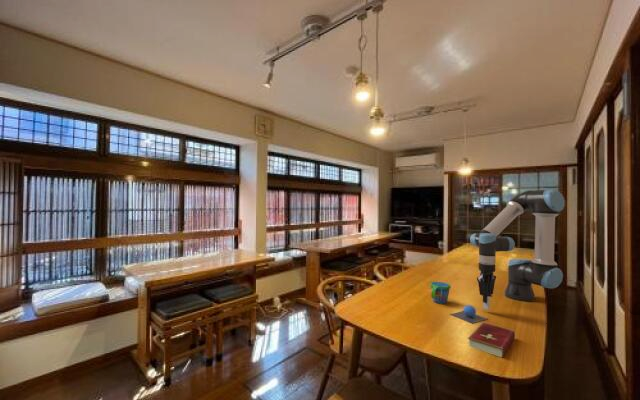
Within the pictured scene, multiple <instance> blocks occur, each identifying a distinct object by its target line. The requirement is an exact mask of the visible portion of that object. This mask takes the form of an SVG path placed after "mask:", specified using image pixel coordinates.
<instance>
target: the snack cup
mask: <svg viewBox="0 0 640 400" xmlns="http://www.w3.org/2000/svg"><path fill="white" fill-rule="evenodd" d="M429 286H430V289H431V295H430V296H431V299H432V301H433V302H434V303H436V304H441V305H442V304H447V303H448V300H449V299H448V298H449V294H450V289H451V284H449V283H447V282H442V281H431V282H430V283H429Z"/></svg>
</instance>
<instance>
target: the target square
mask: <svg viewBox="0 0 640 400" xmlns="http://www.w3.org/2000/svg"><path fill="white" fill-rule="evenodd" d="M449 315H450V316H452V317H455V318H458V319H460V320H462V321H464V322H467V323H468V324H469V323H470V324H472V325H473V324H476V323H477V324H478V323H480V322H481V323H482V322H484V321H487V320H489V318H487V317H484V316H481V315H479V314H477V313H476V314H475V316H473V317H468V316H466V315H465V313H464V310H462V311H457V312H454V313H451V314H449Z"/></svg>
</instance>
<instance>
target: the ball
mask: <svg viewBox="0 0 640 400" xmlns="http://www.w3.org/2000/svg"><path fill="white" fill-rule="evenodd" d="M463 311H464V313H465V315H466V316H468V317H473V316H475V314H476V315H477V311H476V309H475V307H474V306H472V305H470V304H469V305H468V304H467V305H465V306H464V307H463Z"/></svg>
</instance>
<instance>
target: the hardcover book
mask: <svg viewBox="0 0 640 400" xmlns="http://www.w3.org/2000/svg"><path fill="white" fill-rule="evenodd" d="M515 333H516V332H515V330H513V329H509V328H505V327H502V326H499V325H495V324H491V323H488V322H484V321H482V322H481V323H480V325H479V326H478V327H477V328H476V329H475V330H473V332H472V333H470V335H469V336H468V337H467V339H468V340H469V342H468V346H469V347H470V348H474V349H475V350H479V351H482V352H485V353H488V354H491V355H494V356H497V357H501V358H502V359H503V358H504V357H505V355H506V353H507V352H508V350H509V348H510V347H511V346H512V344H513V342H514V340H515V337H516V334H515Z"/></svg>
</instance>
